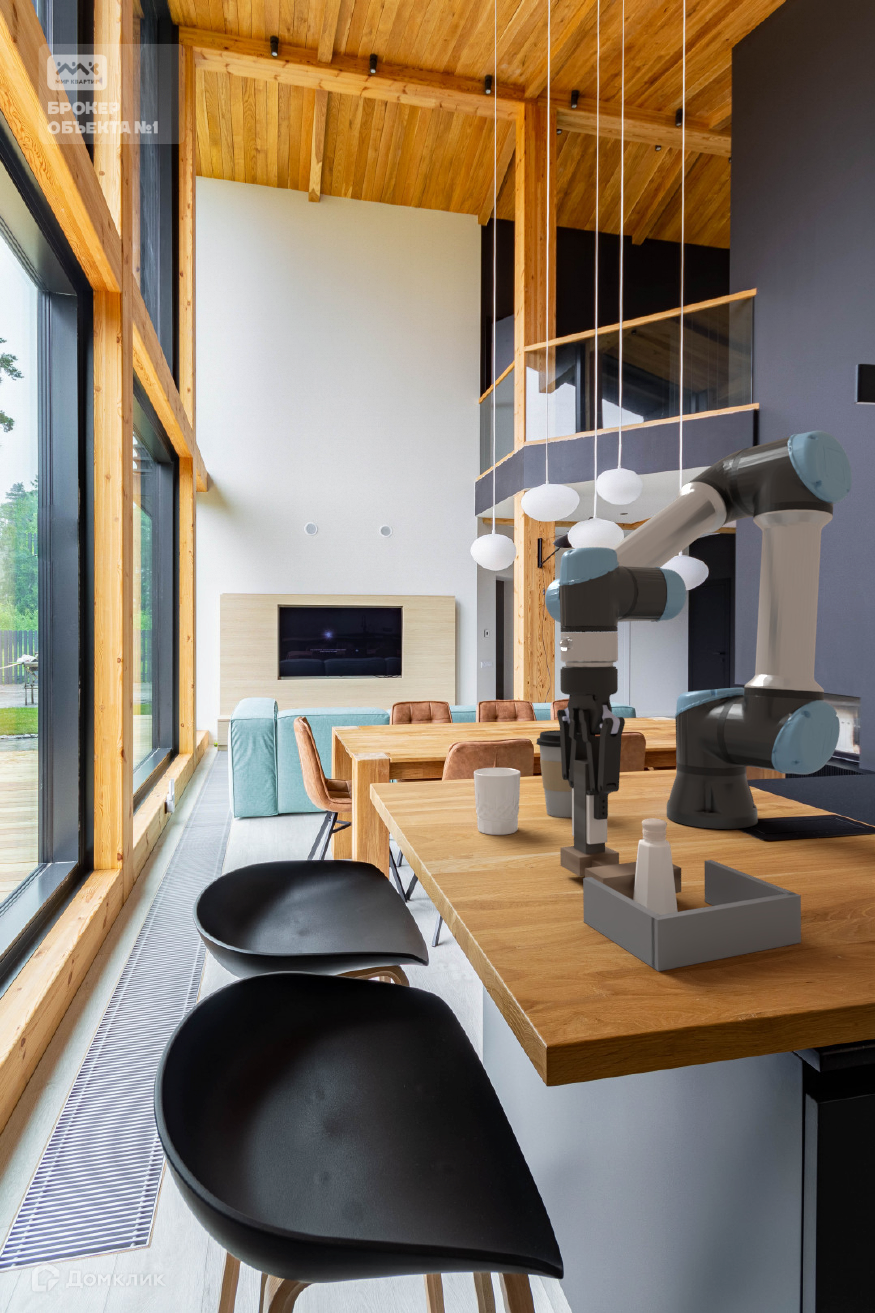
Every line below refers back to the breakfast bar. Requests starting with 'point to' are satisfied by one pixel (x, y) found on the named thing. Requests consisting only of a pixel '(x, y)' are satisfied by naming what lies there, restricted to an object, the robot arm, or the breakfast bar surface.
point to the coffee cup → (554, 775)
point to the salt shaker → (655, 869)
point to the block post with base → (598, 847)
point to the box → (698, 920)
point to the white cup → (497, 800)
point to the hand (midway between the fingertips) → (589, 838)
